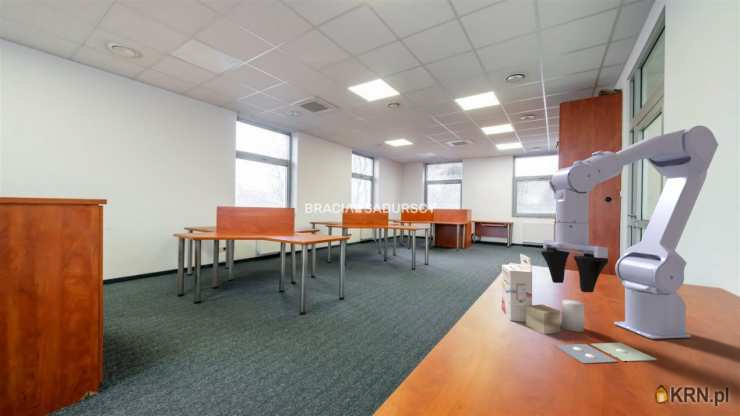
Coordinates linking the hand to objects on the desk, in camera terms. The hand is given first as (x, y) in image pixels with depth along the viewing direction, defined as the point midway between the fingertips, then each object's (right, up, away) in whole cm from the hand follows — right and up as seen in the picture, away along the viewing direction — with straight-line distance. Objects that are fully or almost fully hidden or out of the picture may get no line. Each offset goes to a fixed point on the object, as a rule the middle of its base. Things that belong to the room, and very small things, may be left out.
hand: (571, 287), depth 61 cm
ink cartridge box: (-7, -10, +9) cm, 15 cm away
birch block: (-5, -10, +1) cm, 11 cm away
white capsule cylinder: (+2, -10, +2) cm, 10 cm away
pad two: (-5, -9, -10) cm, 14 cm away
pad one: (+3, -9, -9) cm, 13 cm away
